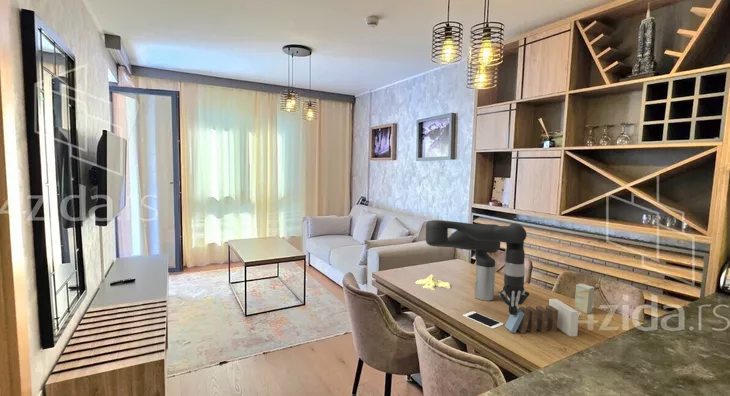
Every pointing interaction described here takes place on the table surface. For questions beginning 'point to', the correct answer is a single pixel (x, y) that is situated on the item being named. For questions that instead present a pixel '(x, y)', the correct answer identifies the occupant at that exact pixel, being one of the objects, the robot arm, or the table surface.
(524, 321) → the walnut domino
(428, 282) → the cloth
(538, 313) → the walnut domino
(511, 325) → the slate domino
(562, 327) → the block
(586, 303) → the skincare box
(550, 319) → the walnut domino
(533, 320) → the walnut domino
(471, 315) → the cell phone
